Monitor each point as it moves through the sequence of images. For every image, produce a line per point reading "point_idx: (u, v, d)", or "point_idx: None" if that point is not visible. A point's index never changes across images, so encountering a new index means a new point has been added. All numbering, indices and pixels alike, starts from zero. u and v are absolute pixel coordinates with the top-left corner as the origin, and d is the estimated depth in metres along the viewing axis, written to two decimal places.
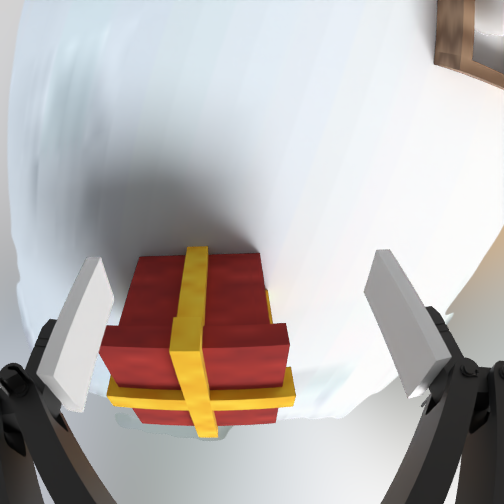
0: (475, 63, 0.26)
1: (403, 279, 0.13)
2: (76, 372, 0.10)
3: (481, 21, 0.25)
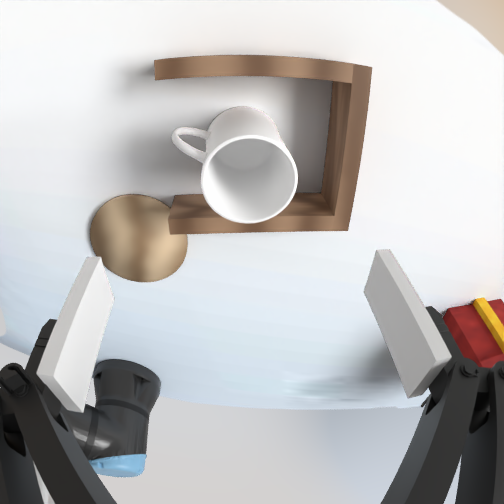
0: (337, 210, 0.35)
1: (403, 279, 0.13)
2: (76, 372, 0.10)
3: None
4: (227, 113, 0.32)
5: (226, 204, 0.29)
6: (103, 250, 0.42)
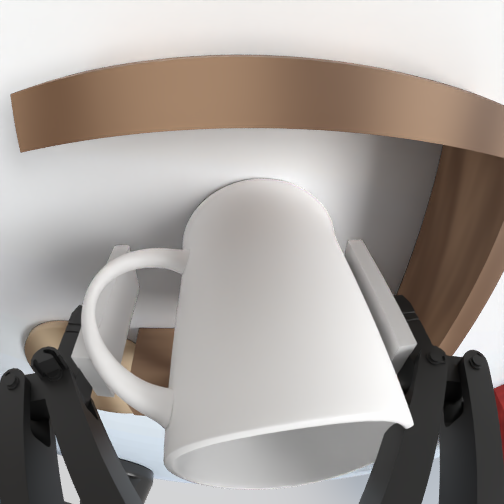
0: None
1: (372, 267, 0.13)
2: None
3: None
4: (227, 200, 0.15)
5: (231, 448, 0.12)
6: None
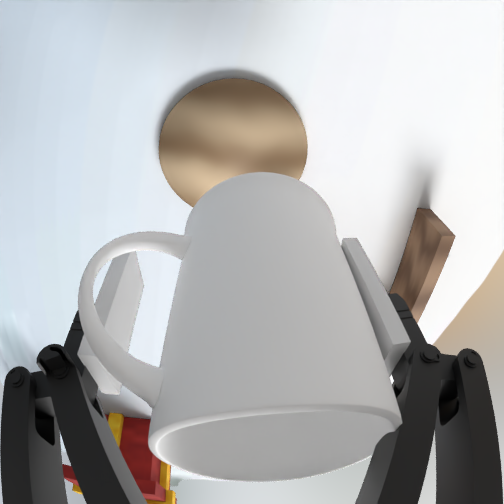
0: None
1: (367, 266, 0.13)
2: None
3: None
4: (232, 190, 0.15)
5: (217, 437, 0.12)
6: (221, 97, 0.25)
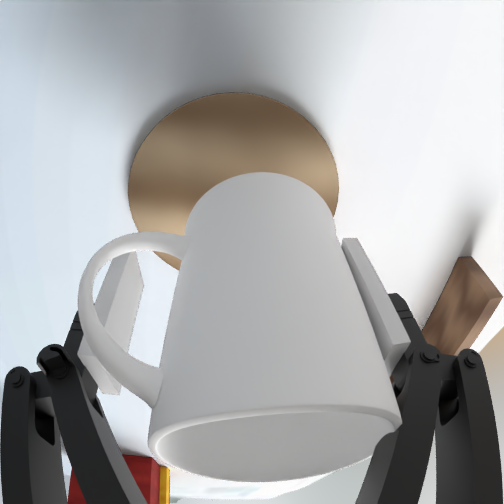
0: None
1: (367, 266, 0.13)
2: None
3: None
4: (232, 190, 0.15)
5: (217, 437, 0.12)
6: (216, 121, 0.17)
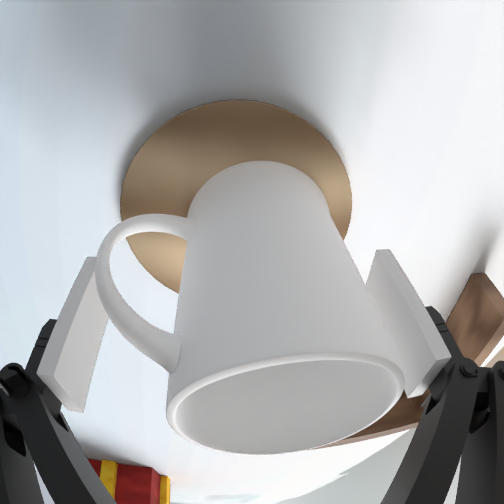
0: None
1: (403, 279, 0.13)
2: (76, 372, 0.10)
3: None
4: (235, 177, 0.16)
5: (225, 411, 0.12)
6: (216, 133, 0.16)
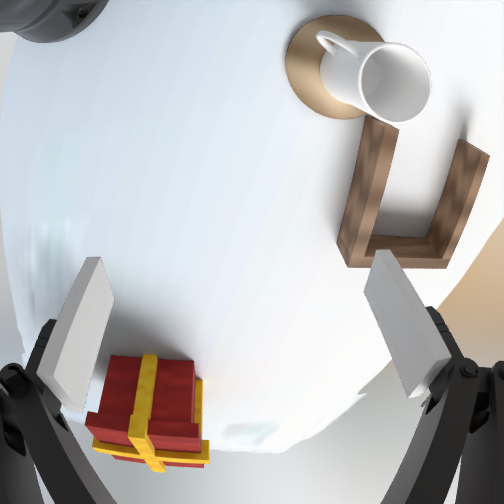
0: (367, 258, 0.44)
1: (403, 279, 0.13)
2: (76, 372, 0.10)
3: None
4: (349, 41, 0.30)
5: None
6: (340, 26, 0.30)
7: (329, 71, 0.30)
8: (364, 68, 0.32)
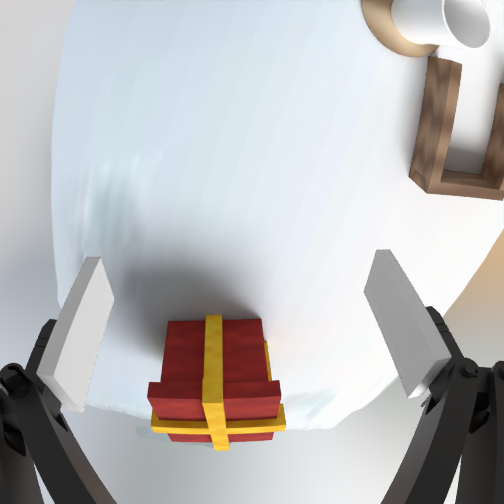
0: (442, 184, 0.41)
1: (403, 279, 0.13)
2: (76, 372, 0.10)
3: None
4: None
5: None
6: None
7: (404, 12, 0.28)
8: None
